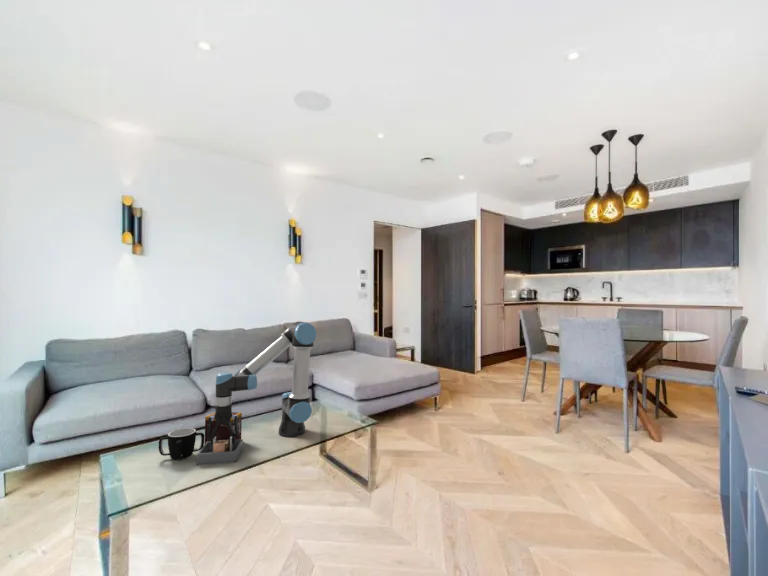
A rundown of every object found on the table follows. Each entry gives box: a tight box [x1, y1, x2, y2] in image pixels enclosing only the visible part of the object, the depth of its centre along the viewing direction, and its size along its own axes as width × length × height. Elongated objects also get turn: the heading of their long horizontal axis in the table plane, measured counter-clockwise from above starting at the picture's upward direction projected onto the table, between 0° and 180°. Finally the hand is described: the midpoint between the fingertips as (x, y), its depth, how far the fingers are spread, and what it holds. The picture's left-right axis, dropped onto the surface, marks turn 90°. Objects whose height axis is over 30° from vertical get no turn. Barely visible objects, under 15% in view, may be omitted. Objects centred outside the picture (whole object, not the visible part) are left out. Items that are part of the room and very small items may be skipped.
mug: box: [158, 427, 205, 461], centre depth 177 cm, size 16×16×12 cm
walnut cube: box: [218, 440, 230, 452], centre depth 181 cm, size 5×5×5 cm
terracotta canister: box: [213, 441, 225, 453], centre depth 174 cm, size 5×5×7 cm
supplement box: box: [203, 411, 243, 446], centre depth 194 cm, size 10×15×16 cm
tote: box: [196, 438, 244, 466], centre depth 177 cm, size 17×15×5 cm
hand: (222, 450), depth 181 cm, fingers open, 7 cm apart
